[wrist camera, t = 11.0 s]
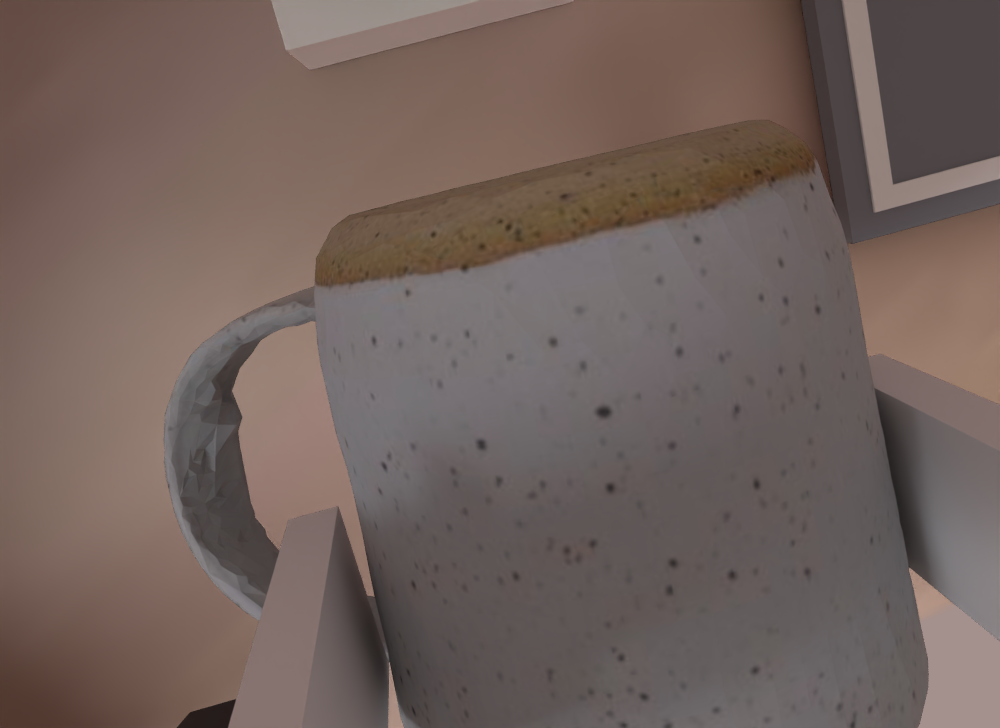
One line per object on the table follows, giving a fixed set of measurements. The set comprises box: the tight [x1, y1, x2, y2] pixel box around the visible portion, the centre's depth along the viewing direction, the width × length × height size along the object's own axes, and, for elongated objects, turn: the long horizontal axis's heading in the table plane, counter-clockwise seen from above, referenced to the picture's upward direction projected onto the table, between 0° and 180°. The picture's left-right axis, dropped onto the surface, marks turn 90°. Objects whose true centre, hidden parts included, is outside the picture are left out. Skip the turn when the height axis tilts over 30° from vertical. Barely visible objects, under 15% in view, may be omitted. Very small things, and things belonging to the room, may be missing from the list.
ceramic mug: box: [164, 120, 929, 728], centre depth 13 cm, size 11×8×8 cm
